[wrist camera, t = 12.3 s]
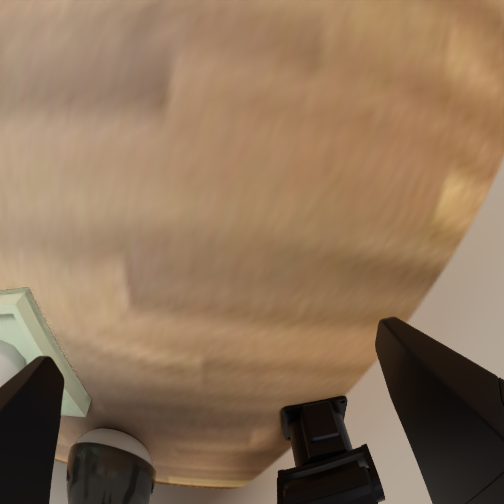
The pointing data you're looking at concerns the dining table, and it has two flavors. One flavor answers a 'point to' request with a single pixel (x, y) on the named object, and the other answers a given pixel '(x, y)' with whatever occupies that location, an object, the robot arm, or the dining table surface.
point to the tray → (39, 344)
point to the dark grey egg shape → (109, 469)
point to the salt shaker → (9, 362)
